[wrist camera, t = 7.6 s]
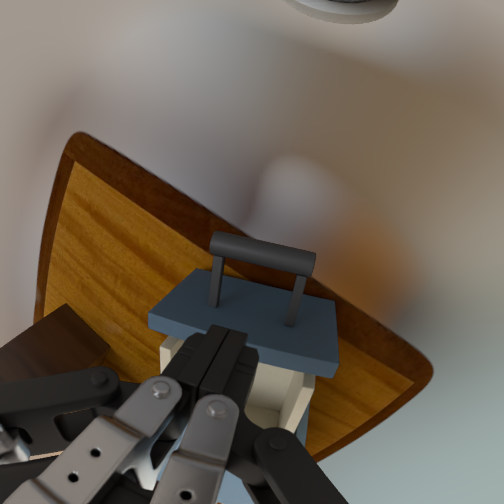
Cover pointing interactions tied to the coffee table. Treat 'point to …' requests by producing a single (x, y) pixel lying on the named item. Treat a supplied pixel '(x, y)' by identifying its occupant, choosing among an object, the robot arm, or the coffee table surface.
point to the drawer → (258, 325)
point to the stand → (52, 348)
